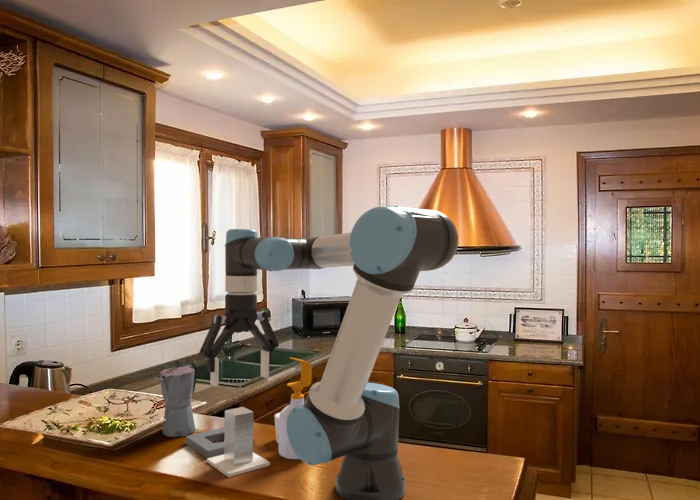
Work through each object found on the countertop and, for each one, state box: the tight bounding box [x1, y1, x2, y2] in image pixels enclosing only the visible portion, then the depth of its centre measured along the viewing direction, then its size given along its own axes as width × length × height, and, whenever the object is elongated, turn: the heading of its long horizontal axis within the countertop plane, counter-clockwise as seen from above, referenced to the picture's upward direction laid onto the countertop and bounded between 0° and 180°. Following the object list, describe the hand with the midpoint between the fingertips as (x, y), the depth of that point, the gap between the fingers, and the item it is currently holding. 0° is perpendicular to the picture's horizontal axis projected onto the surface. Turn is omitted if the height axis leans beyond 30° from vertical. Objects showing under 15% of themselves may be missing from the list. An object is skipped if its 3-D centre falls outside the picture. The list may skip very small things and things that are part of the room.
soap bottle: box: [278, 356, 313, 460], centre depth 143 cm, size 9×9×25 cm
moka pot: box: [158, 360, 199, 438], centre depth 157 cm, size 10×15×20 cm, turn 163°
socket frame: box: [185, 426, 255, 460], centre depth 148 cm, size 13×13×2 cm
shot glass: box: [273, 411, 281, 444], centre depth 152 cm, size 7×7×7 cm
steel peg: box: [223, 406, 254, 466], centre depth 136 cm, size 5×5×12 cm
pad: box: [206, 451, 271, 478], centre depth 136 cm, size 11×11×1 cm
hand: (240, 381), depth 135 cm, fingers open, 13 cm apart
